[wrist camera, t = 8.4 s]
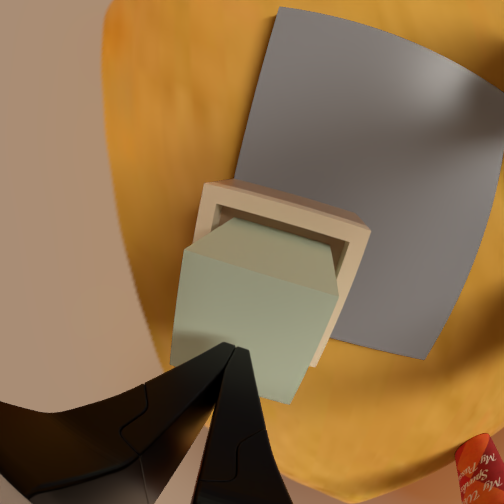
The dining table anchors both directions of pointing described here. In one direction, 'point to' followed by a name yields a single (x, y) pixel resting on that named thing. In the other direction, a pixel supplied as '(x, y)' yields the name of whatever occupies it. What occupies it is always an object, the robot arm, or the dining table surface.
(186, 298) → the green block
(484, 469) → the paper cup
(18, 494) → the robot arm
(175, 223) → the dining table surface
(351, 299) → the board
